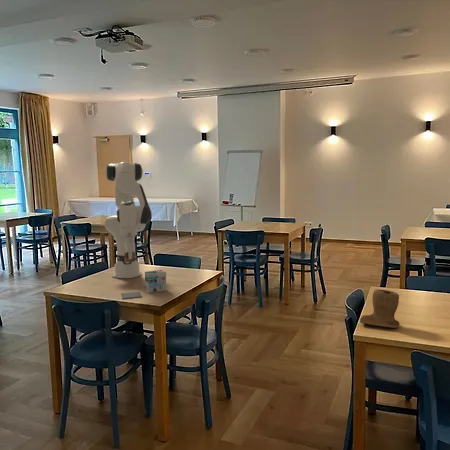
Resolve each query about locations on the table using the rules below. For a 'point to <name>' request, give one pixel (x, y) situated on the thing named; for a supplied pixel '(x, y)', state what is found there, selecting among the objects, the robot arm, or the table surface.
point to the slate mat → (131, 295)
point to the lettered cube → (128, 258)
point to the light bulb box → (155, 281)
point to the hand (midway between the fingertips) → (129, 257)
